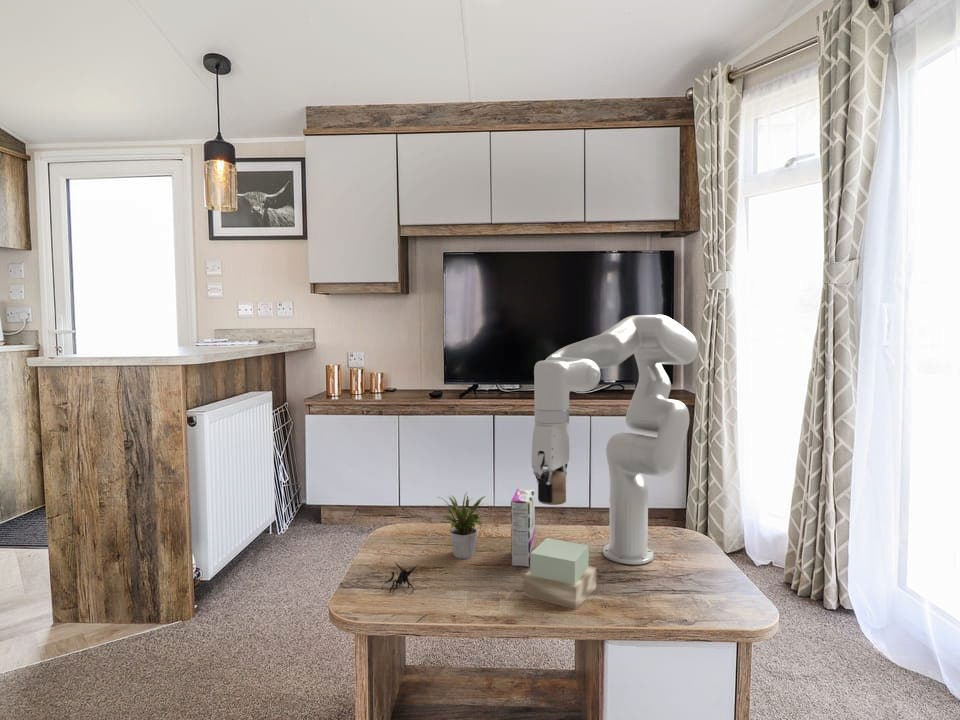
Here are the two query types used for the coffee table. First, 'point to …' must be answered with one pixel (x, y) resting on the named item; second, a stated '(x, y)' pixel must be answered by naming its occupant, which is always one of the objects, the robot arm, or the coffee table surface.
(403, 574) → the creature
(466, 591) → the coffee table surface
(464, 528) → the house plant
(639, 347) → the robot arm
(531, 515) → the candy bar box
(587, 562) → the tower top
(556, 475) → the walnut cylinder
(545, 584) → the tower base
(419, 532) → the coffee table surface
